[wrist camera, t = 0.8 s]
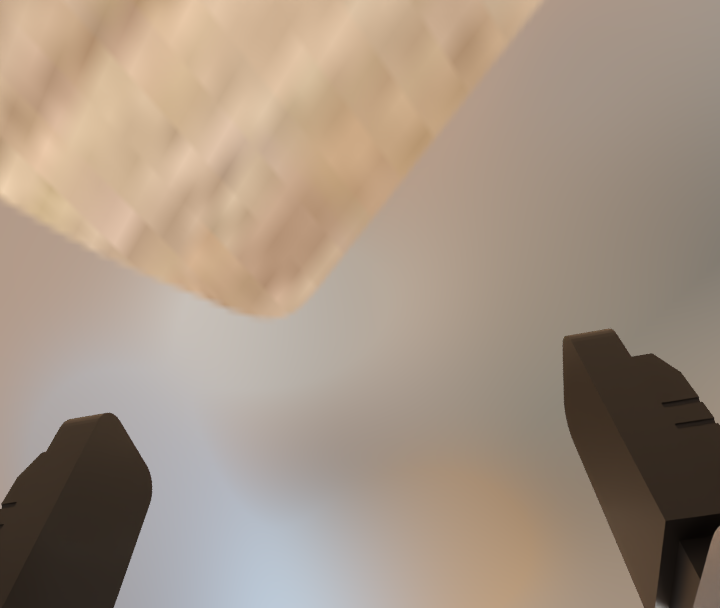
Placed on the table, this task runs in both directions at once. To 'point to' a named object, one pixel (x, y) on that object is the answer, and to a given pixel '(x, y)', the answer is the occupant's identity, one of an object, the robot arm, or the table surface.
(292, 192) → the table surface
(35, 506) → the robot arm
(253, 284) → the table surface
